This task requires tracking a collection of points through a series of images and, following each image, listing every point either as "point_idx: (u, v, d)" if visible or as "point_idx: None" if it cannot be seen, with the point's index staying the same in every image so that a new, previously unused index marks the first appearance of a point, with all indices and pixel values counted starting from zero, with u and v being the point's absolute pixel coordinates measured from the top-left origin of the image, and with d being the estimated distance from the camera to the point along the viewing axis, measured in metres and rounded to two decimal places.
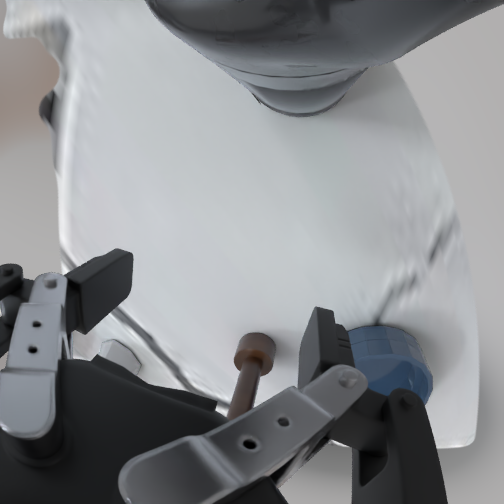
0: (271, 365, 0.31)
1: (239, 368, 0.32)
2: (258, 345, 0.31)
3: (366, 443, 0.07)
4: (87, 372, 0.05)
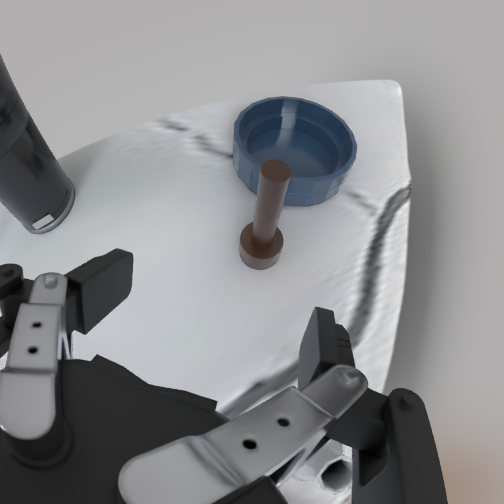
0: None
1: (271, 254, 0.30)
2: None
3: (366, 443, 0.07)
4: (87, 372, 0.05)
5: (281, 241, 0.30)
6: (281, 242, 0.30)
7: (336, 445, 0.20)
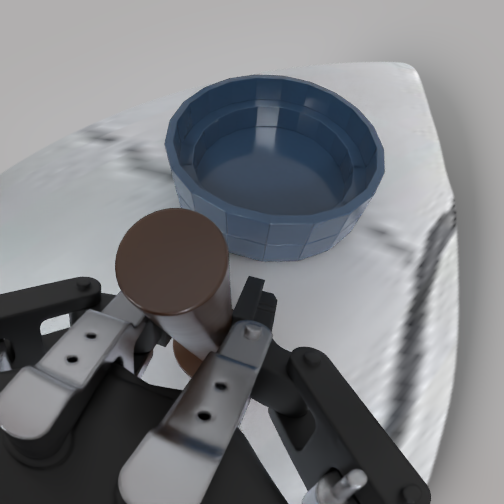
0: None
1: None
2: None
3: (274, 400, 0.08)
4: None
5: None
6: None
7: None
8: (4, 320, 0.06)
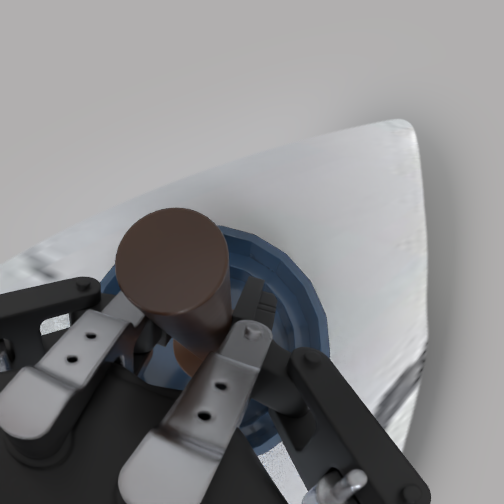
0: None
1: None
2: None
3: (274, 400, 0.08)
4: None
5: None
6: None
7: None
8: (4, 320, 0.06)
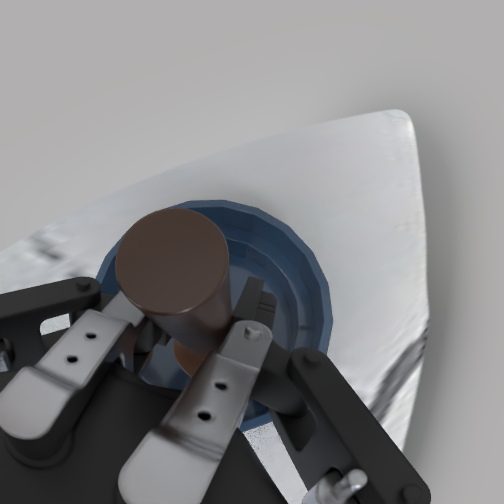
0: None
1: None
2: None
3: (274, 400, 0.08)
4: None
5: None
6: None
7: None
8: (4, 320, 0.06)
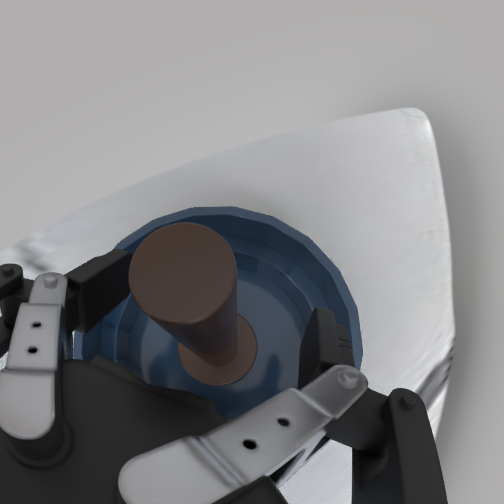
0: None
1: (234, 375, 0.15)
2: None
3: (366, 443, 0.07)
4: (87, 372, 0.05)
5: (253, 349, 0.16)
6: (253, 350, 0.16)
7: None
8: None
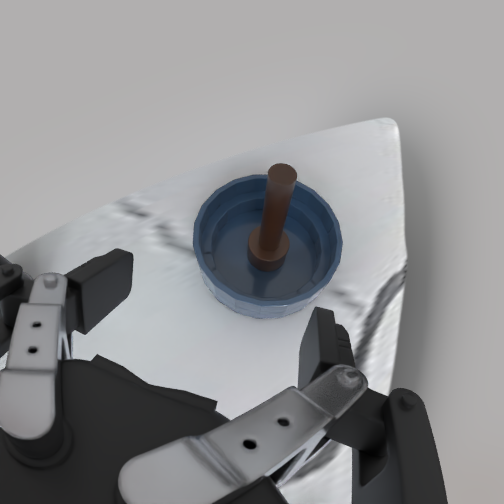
0: None
1: (278, 256, 0.31)
2: None
3: (366, 443, 0.07)
4: (87, 372, 0.05)
5: (287, 243, 0.32)
6: (287, 244, 0.32)
7: None
8: None
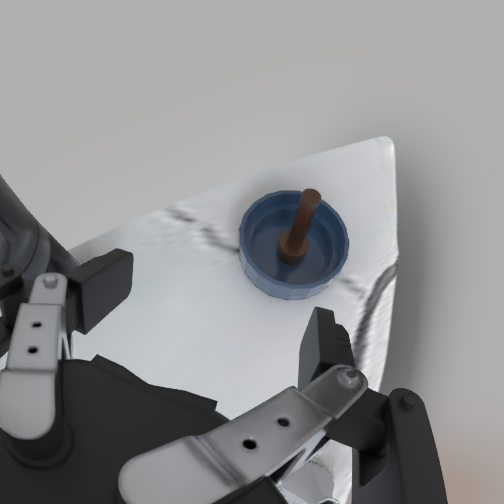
0: None
1: (302, 252, 0.41)
2: None
3: (366, 443, 0.07)
4: (87, 372, 0.05)
5: (308, 243, 0.42)
6: (308, 244, 0.42)
7: (327, 486, 0.26)
8: None
